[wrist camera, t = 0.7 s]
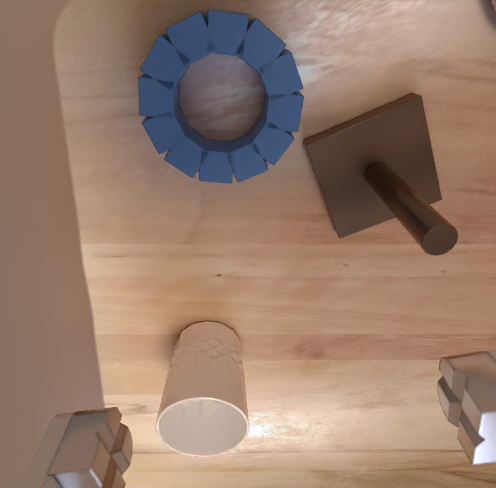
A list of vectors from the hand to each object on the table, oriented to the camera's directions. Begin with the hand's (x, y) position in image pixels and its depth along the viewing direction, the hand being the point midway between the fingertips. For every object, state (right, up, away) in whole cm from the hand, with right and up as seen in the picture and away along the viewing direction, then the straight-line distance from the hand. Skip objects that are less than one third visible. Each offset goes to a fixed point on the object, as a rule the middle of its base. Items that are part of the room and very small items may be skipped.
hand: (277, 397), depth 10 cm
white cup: (-5, -7, +32) cm, 33 cm away
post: (+10, +10, +23) cm, 27 cm away
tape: (-3, +15, +20) cm, 25 cm away
